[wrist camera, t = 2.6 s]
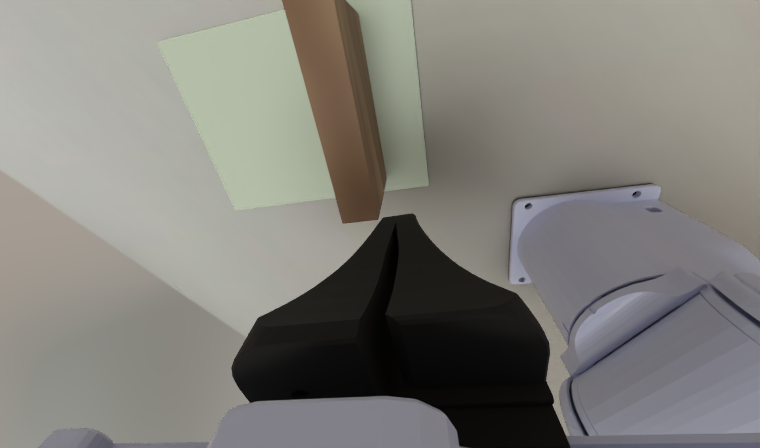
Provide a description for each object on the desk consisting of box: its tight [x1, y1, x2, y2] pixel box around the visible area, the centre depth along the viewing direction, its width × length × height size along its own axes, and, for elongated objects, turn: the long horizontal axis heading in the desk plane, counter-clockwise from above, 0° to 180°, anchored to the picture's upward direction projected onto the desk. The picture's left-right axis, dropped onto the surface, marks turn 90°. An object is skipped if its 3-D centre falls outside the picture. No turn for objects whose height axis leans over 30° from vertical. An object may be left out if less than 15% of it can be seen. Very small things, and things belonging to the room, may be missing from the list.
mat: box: [157, 0, 429, 211], centre depth 19 cm, size 16×12×1 cm
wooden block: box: [282, 0, 387, 223], centre depth 16 cm, size 2×10×6 cm, turn 10°
